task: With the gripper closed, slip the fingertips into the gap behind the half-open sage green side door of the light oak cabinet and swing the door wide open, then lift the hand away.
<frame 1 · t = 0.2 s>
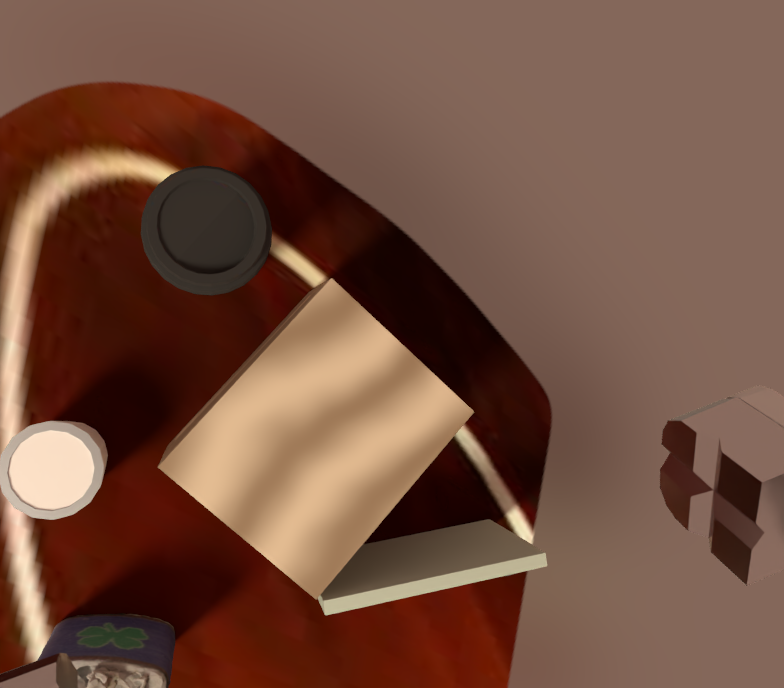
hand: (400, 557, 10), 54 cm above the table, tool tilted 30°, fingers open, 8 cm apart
coffee cup: (208, 256, 62), on the table
white cylinder: (70, 456, 59), on the table
flask: (116, 631, 60), on the table
side door: (418, 568, 59), point 6 cm above the table, hinge at 40.0°
oak cabinet: (303, 422, 63), on the table
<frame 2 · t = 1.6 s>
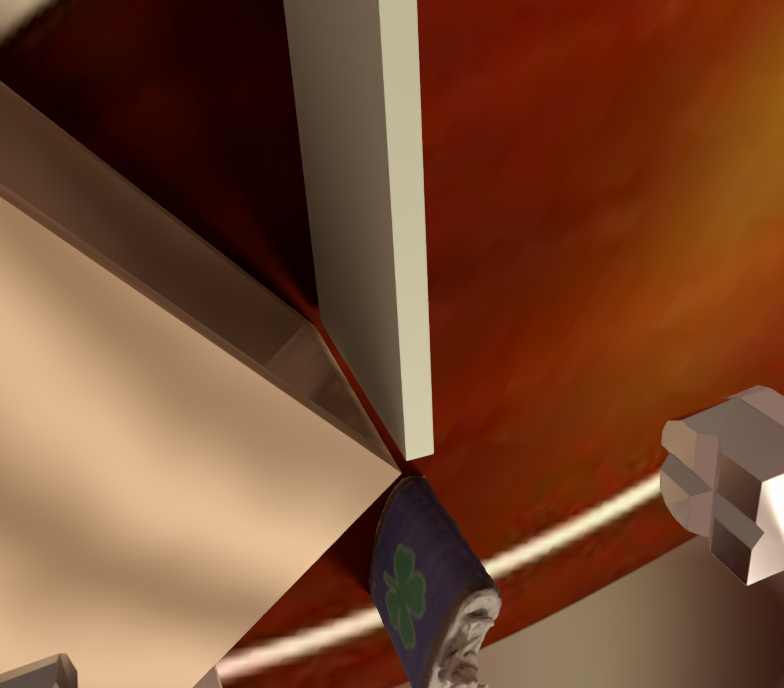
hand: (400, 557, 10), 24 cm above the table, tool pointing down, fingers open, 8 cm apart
white cylinder: (149, 632, 41), on the table
flask: (395, 537, 44), on the table
side door: (367, 172, 26), point 6 cm above the table, hinge at 40.0°
oak cabinet: (62, 335, 32), on the table
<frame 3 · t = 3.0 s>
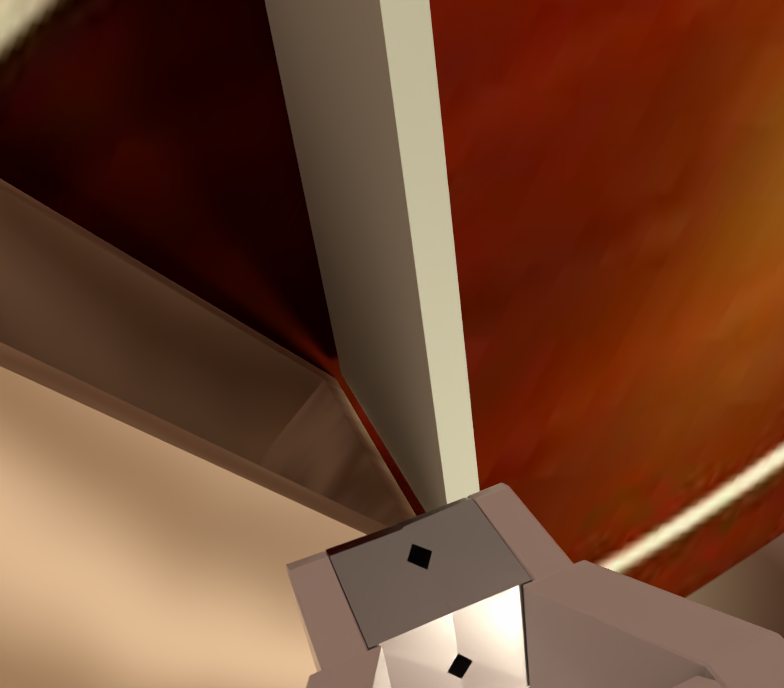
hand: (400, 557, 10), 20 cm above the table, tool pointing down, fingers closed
side door: (383, 224, 23), point 6 cm above the table, hinge at 40.0°
oak cabinet: (56, 419, 28), on the table
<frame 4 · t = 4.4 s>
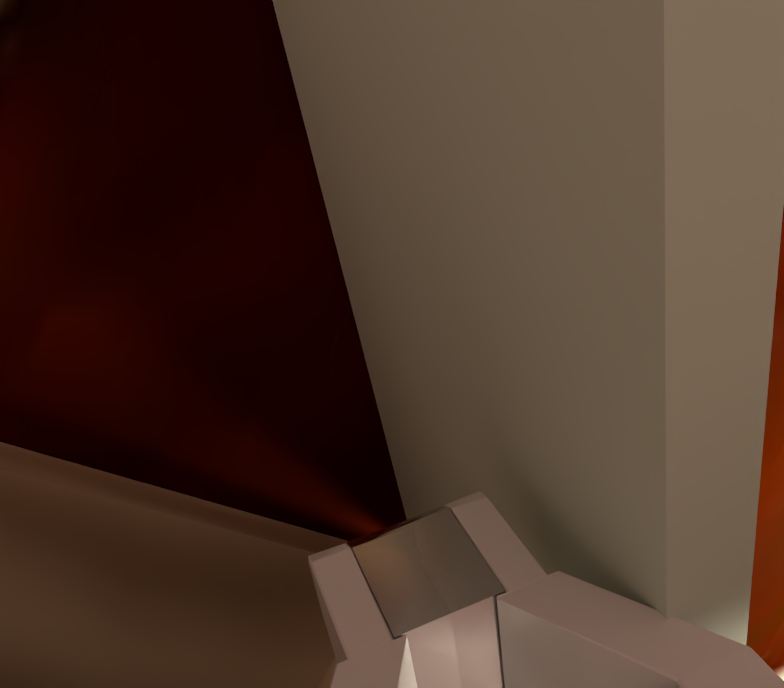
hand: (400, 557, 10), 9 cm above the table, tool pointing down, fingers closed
side door: (509, 430, 13), point 6 cm above the table, hinge at 43.9°, touching gripper
oak cabinet: (24, 687, 20), on the table
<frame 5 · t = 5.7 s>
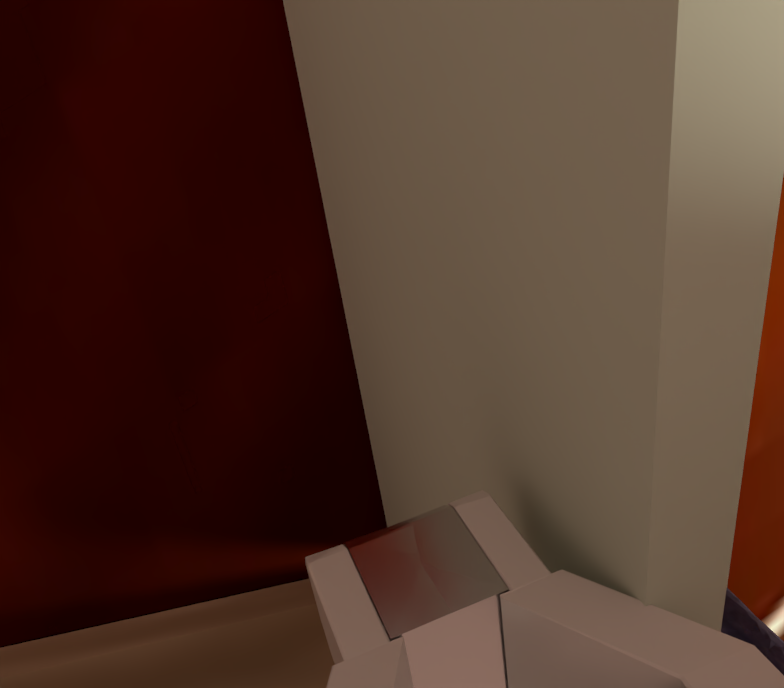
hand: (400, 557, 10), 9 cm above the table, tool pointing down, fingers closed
flask: (689, 613, 31), on the table
side door: (495, 436, 14), point 6 cm above the table, hinge at 78.4°, touching gripper
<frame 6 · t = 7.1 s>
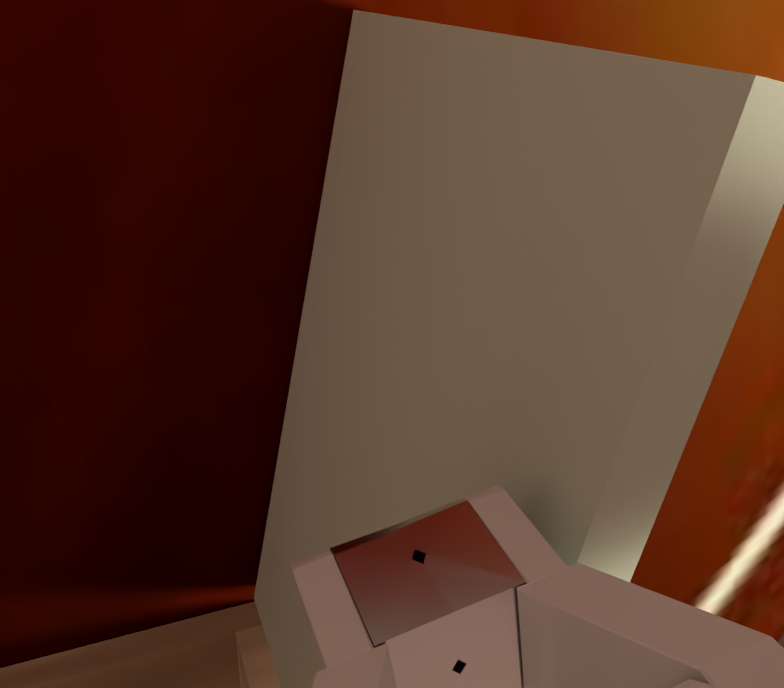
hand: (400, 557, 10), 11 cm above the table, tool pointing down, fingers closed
side door: (421, 473, 15), point 6 cm above the table, hinge at 101.1°, touching gripper
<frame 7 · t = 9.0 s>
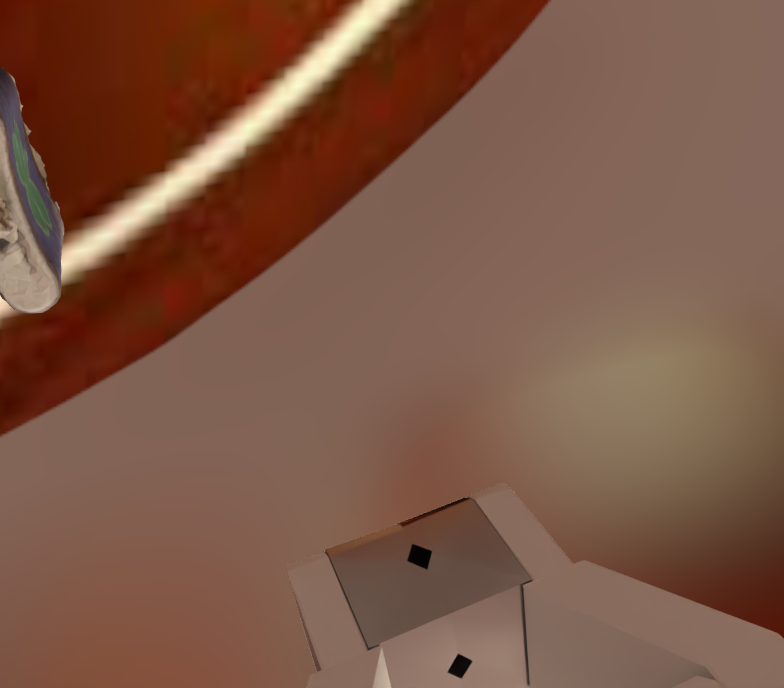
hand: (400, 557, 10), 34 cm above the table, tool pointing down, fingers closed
flask: (12, 157, 37), on the table
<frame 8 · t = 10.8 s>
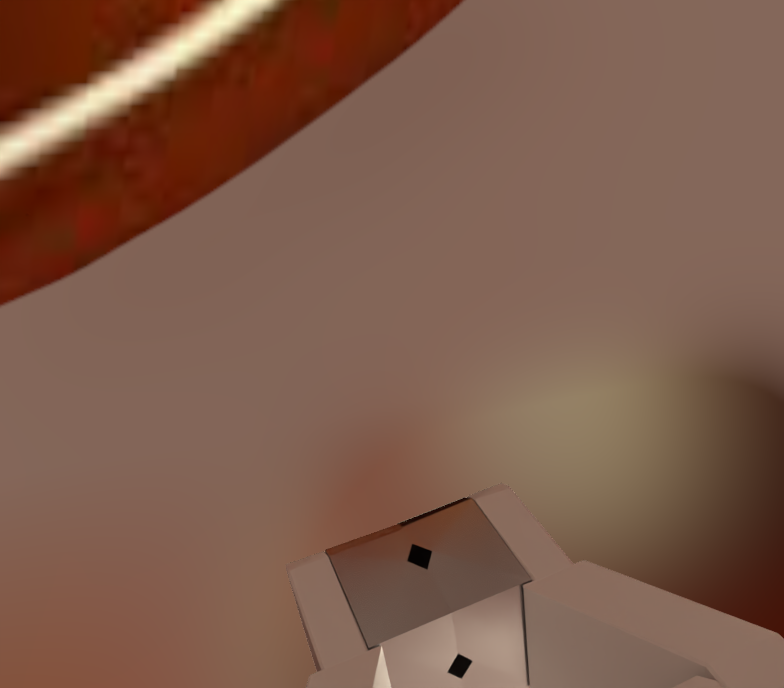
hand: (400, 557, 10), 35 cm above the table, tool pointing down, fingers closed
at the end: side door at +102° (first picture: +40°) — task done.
